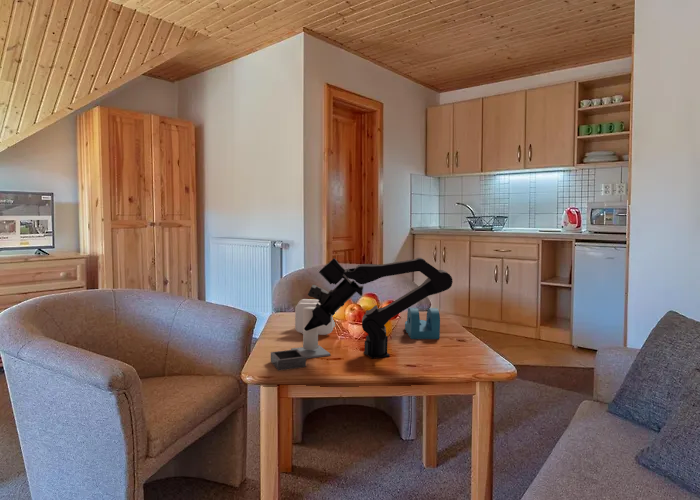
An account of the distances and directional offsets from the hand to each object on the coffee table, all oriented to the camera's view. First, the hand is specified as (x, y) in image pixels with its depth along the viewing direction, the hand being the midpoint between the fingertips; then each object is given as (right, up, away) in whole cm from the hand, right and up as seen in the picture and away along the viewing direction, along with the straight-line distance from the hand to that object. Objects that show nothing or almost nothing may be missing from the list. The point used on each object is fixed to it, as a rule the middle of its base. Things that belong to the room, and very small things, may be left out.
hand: (306, 327), depth 150 cm
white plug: (+1, -7, +1) cm, 7 cm away
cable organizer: (+1, -6, +28) cm, 29 cm away
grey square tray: (-4, -9, -11) cm, 15 cm away
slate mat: (+1, -8, +1) cm, 8 cm away
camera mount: (+41, -7, +28) cm, 50 cm away
